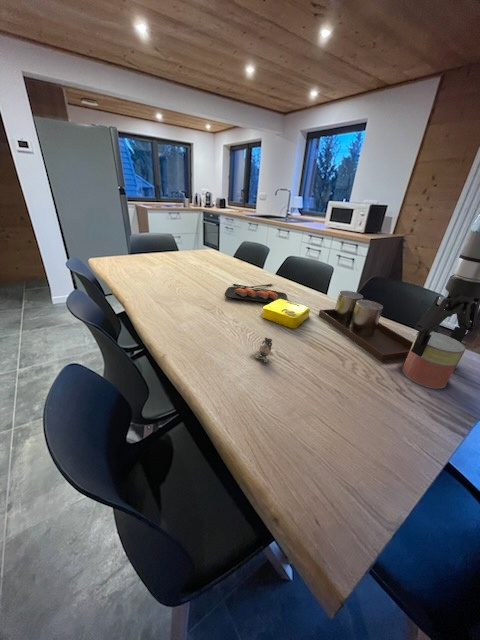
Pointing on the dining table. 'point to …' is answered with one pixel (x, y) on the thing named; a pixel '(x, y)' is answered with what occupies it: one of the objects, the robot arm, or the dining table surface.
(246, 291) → the sushi plate
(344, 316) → the tin
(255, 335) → the dining table surface
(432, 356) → the canned food
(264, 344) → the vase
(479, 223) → the robot arm
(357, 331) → the tin
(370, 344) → the tray
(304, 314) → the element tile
